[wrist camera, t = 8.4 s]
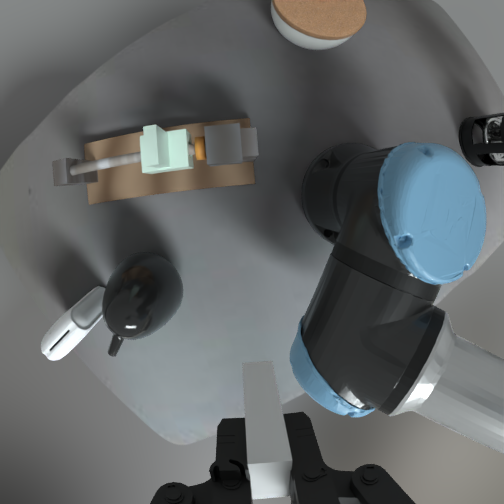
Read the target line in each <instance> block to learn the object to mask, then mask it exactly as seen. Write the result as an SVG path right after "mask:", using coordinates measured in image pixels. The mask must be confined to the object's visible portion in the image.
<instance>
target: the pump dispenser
mask: <svg viewBox="0 0 504 504" xmlns="http://www.w3.org/2000/svg"><path fill="white" fill-rule="evenodd" d="M182 298H183V284H182V280H181V278H180V275H179V273H178V272H177V270H176V269H175V267H174V266H173V265H172V264H171V263H170V262H169V261H168V260H166V259H165V258H163V257H161V256H159V255H157V254H154V253H149V252H140V253H135V254H132V255H130V256H128V257H127V258H125V259H124V260H123V261H122V262H120V264H119V265H118V266H117V267H116V268H115V270H114V271H113V273H112V275H111V276H110V278H109V280H108V283H107V285H106V288H105V291H104V295H103V299H102V315H103V319H104V322H105V324H106V326H107V327H108V329H109V330H110V331H111V332H112V333H113V336H112V340H111V343H110V346H109V349H108V354H109V355H110V356H113V357H114V356H116V355H117V352H118V350H119V348H120V346H121V344H122V342H123V340H124V339H128V340H136V339H141V338H144V337H146V336H149V335H151V334H153V333H154V332H156V331H157V330H159V329H160V328H162V327H163V326H164V325H165V324H166V323H167V322H168V321H169V320H170V319H171V318H172V317H173V316H174V315H175V313H176V312H177V310H178V309H179V307H180V304H181V302H182Z"/></svg>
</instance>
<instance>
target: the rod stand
mask: <svg viewBox="0 0 504 504" xmlns="http://www.w3.org/2000/svg"><path fill="white" fill-rule="evenodd" d="M162 129H163V130H164V131H166V132H167V131H173V130H180V129H186V130H187V131H188V132H189V133H190V134H191V139H192V144H188V146H189V155H193V165H194V168H192V169H184V170H176V171H169V172H161V173H155V174H148V173H142V164H141V150H140V136H143V135H144V134H143V131H142V132H137V133H132V134H127V135H122V136H117V137H112V138H108V139H103V140H99V141H95V142H91V143H87V144H84V152H85V160H80V159H70V158H64V159H60V160H56V161H53V177H54V186H65V185H82V184H87V192H88V201H89V205H90V204H96V203H101V202H107V201H114V200H120V199H126V198H133V197H140V196H147V195H154V194H162V193H170V192H178V191H186V190H195V189H204V188H213V187H224V186H234V185H246V184H255V176H254V164H253V161H254V160H255V159H256V158H257V157H258V156H259V153H258V141H257V130H256V127H255V128H250V118H245V119H232V120H221V121H211V122H202V123H194V124H186V125H179V126H172V127H166V128H162Z"/></svg>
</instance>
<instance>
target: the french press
mask: <svg viewBox="0 0 504 504" xmlns="http://www.w3.org/2000/svg"><path fill="white" fill-rule="evenodd" d="M500 116H503V117H502V121H501V120H500V119H499V118H498V117H500ZM474 124H476V125H478V126H479V127H480V128H481V129H482V130H483V143H484V144H473V140H472V129H473V125H474ZM459 140H460V146H461V149H462V151H463V154H464V156H465V157H466V159H467V160H468V161H469V162H470V163H471V164H472V165H474V166H477V167H482V166H491V165H499V166H504V113H499V114H492V115H486V116H481V117H475V118H474V117H469V118H466V119H465V120H464V121H463V122H462V124H461V126H460V131H459ZM477 154H486V155H485V157H484V158H483V159H480V158H479V156H478V155H477Z"/></svg>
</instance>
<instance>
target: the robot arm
mask: <svg viewBox="0 0 504 504" xmlns="http://www.w3.org/2000/svg"><path fill="white" fill-rule="evenodd" d="M302 204H303V209H304V212H305V215H306V217H307V219H308V221H309V223H310V225H311V226H312V228H313V229H314V230H315V231H316V232H317V233H318V234H319V235H320V236H321V237H322V238H324V239H325V240H327V241H328V242H330V243H332V244H334V248H333V250H332V253H331V254H330V257H329V259H328V262H327V264H326V267H325V269H324V272H323V274H322V276H321V279H320V281H319V284H318V286H317V288H316V291H315V293H314V295H313V298H312V300H311V302H310V304H309V307H308V309H307V311H306V313H305V315H304V316H303V317H302V318H301V320H300V323H299V326H298V332H297V335H296V337H295V340H294V342H293V344H292V347H291V351H290V363H291V366H292V369H293V373H294V376H295V378H296V379H297V381H298V382H299V384H300V385H301V387H302V388H303V389H304V390H305V392H306V393H307V394H308V395H309V396H310V397H312V398H313V399H314V400H315V401H316V402H318V403H319V404H320V405H322V406H323V407H325V408H327V409H328V410H330V411H332V412H335V413H337V414H340V415H346V414H348V415H349V416H350V417H362V416H365V415H367V414H368V413H370V412H372V411H374V410H375V408H376V409H378V410H380V411H382V412H384V413H385V414H387V415H389V416H394V415H397V414H400V413H403V412H406V411H415V412H417V413H419V414H421V415H423V416H424V417H426V418H428V419H430V420H432V421H434V422H436V423H438V424H440V425H442V426H444V427H447V428H448V429H450V430H453V431H455V432H457V433H459V434H461V435H463V436H465V437H468V438H469V439H472V440H474V441H476V442H478V443H480V444H483V445H485V446H487V447H489V448H491V449H494V450H496V451H498V452H501V453H503V454H504V359H502V358H500V357H498V356H497V355H495V354H493V353H491V352H489V351H487V350H485V349H483V348H481V347H479V346H477V345H476V344H473V343H472V342H470V341H468V340H466V339H464V338H462V337H460V336H458V335H456V334H455V333H454V332H453V329H452V325H451V322H450V319H449V315H448V313H447V312H445V311H443V310H441V309H439V308H437V307H435V306H434V305H433V303H434V301H435V299H436V296H437V294H438V292H439V290H440V287H441V285H442V284H444V283H450V282H453V281H455V280H457V279H459V278H460V277H462V276H463V271H464V270H469V269H470V268H471V267H472V266H473V264H474V263H475V261H476V259H477V257H478V255H479V253H480V251H481V248H482V245H483V241H484V237H485V231H486V206H485V200H484V196H483V195H482V194H481V190H480V185H479V181H478V179H477V177H476V175H475V173H474V172H473V170H472V169H471V167H470V166H469V164H468V163H467V162H466V161H465V160H464V159H463V158H462V157H461V156H460V155H459V154H458V153H456V152H455V151H453V150H452V149H450V148H448V147H446V146H443V145H440V144H435V143H415V142H408V143H404V144H400V145H399V146H395V147H390V148H385V149H380V150H376V149H374V148H372V147H370V146H367V145H363V144H358V143H347V144H341V145H338V146H335V147H332V148H330V149H328V150H326V151H324V152H323V153H321V154H320V155H319V156H318V157H317V158H316V159H315V160H314V161H313V162H312V164H311V165H310V167H309V168H308V170H307V172H306V175H305V178H304V181H303V186H302ZM243 385H244V406H245V418H227V419H222V420H221V422H220V424H219V425H218V427H217V447H216V461H215V462H214V463H213V464H212V465H211V467H210V470H209V472H210V475H211V479H210V480H208V481H206V482H205V483H202V484H198V485H194V486H189V487H188V486H186V485H184V484H182V483H176V482H172V483H167V484H165V485H163V486H161V487H160V488H159V489H158V490H157V492H156V494H155V496H154V497H153V499H152V501H151V503H150V504H253V502H252V499H263V498H274V497H283V496H289V495H290V496H291V504H415V503H414V501H413V500H411V498H410V497H409V496H408V495H407V494H406V493H405V492H404V491H403V490H402V489H401V487H400V486H399V485H398V484H397V483H396V482H395V481H394V480H393V478H392V477H391V476H390V475H389V474H388V473H387V472H386V471H385V470H384V469H383V468H382V467H380V466H378V465H375V464H366V465H363V466H360V467H359V468H357V469H356V470H355V471H354V472H353V471H338V470H334V469H331V468H330V467H328V466H327V465H326V464H325V463H324V461H323V459H322V456H321V453H320V449H319V446H318V443H317V440H316V436H315V433H314V430H313V426H312V423H311V420H310V418H309V417H308V416H307V415H306V414H305V413H304V412H298V413H289V414H283V412H282V407H281V402H280V397H279V392H278V387H277V382H276V377H275V372H274V368H273V363H272V361H264V362H249V363H243Z"/></svg>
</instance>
